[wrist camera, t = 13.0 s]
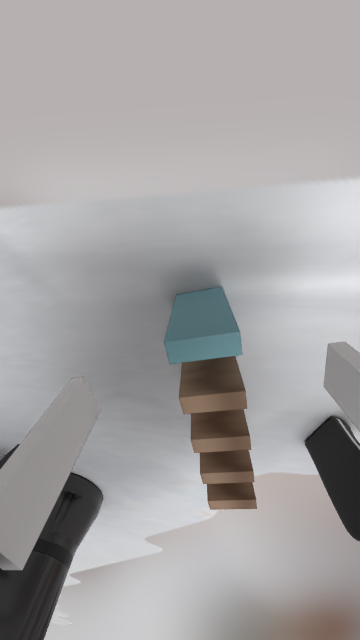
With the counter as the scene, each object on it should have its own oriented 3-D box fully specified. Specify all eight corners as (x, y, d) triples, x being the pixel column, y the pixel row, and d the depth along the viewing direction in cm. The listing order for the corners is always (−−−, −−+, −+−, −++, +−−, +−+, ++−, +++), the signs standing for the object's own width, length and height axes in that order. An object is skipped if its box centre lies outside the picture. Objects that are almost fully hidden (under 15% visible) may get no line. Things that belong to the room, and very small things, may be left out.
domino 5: (206, 427, 32) (210, 509, 23) (204, 419, 31) (207, 500, 22) (239, 425, 31) (256, 508, 22) (238, 416, 30) (256, 499, 21)
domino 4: (200, 404, 30) (203, 483, 21) (198, 395, 29) (200, 473, 20) (236, 400, 29) (254, 482, 20) (234, 391, 28) (253, 471, 19)
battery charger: (323, 449, 32) (383, 557, 22) (301, 442, 32) (352, 548, 21) (355, 421, 29) (442, 531, 19) (331, 413, 29) (407, 520, 18)
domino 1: (179, 309, 24) (169, 364, 15) (176, 294, 23) (163, 342, 14) (223, 302, 23) (242, 354, 14) (221, 286, 22) (240, 331, 13)
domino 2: (187, 346, 26) (183, 414, 17) (184, 333, 25) (178, 397, 16) (228, 340, 25) (247, 408, 16) (226, 327, 24) (245, 391, 15)
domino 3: (194, 377, 28) (194, 452, 19) (192, 366, 27) (190, 439, 18) (232, 373, 27) (251, 449, 18) (231, 362, 26) (249, 435, 17)
